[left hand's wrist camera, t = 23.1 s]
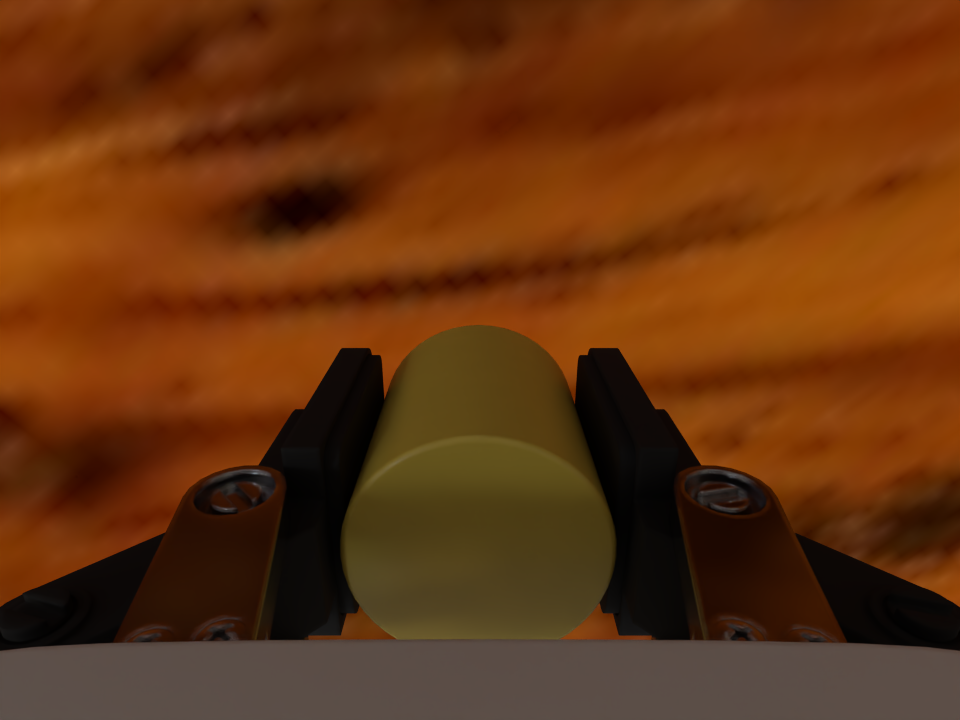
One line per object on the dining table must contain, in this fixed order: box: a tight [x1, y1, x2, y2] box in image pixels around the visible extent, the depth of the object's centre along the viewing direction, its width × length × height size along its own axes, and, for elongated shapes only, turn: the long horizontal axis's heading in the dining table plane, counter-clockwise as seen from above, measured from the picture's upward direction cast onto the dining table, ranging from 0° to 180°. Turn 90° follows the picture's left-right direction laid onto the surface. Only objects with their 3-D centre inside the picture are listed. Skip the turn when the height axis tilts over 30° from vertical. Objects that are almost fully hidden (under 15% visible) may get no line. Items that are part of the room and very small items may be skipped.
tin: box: [340, 325, 617, 640], centre depth 10 cm, size 4×4×4 cm
